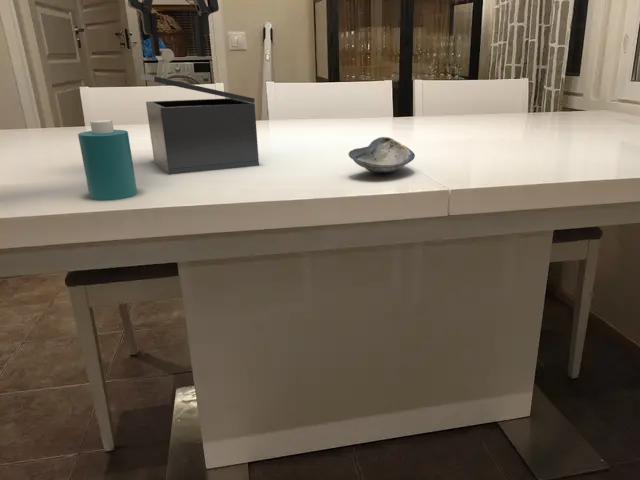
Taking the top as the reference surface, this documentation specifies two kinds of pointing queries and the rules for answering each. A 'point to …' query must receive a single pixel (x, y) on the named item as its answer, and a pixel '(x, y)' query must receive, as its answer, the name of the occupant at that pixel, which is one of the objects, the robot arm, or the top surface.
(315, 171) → the top surface
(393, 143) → the seashell
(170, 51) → the box lid
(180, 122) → the black box
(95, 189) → the detergent bottle
